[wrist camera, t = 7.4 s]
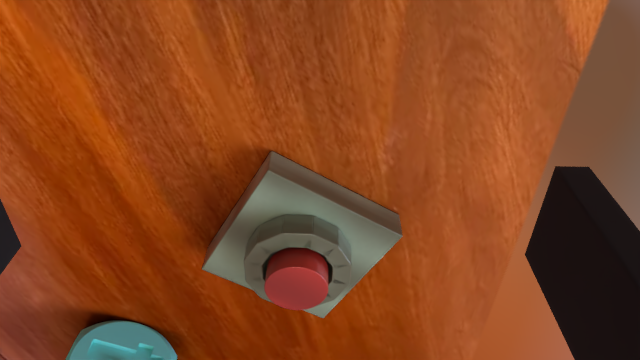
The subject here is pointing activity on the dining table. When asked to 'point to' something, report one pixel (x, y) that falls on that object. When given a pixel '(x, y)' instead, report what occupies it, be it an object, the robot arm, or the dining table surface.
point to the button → (296, 278)
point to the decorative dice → (120, 343)
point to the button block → (301, 229)
